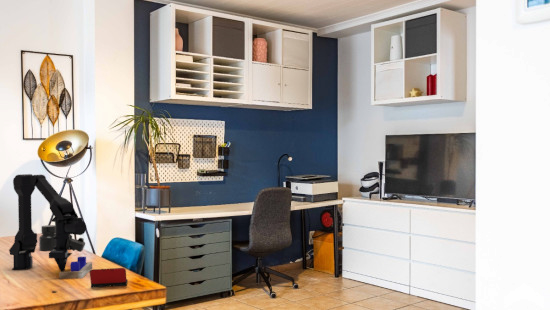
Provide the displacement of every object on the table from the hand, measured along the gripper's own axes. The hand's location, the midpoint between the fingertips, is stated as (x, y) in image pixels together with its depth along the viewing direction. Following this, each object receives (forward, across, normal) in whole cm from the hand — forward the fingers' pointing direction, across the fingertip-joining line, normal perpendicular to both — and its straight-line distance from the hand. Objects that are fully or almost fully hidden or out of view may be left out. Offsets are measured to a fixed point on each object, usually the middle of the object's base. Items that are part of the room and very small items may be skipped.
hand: (62, 271), depth 224 cm
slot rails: (+1, 0, -5) cm, 5 cm away
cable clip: (+1, -1, -6) cm, 6 cm away
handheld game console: (+1, -23, -22) cm, 32 cm away
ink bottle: (+2, +61, +21) cm, 65 cm away
